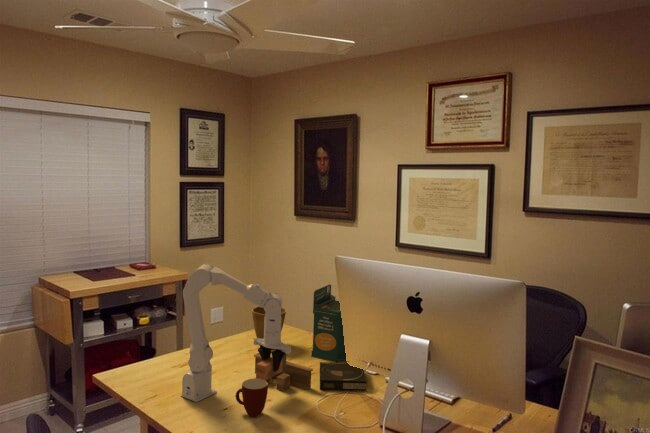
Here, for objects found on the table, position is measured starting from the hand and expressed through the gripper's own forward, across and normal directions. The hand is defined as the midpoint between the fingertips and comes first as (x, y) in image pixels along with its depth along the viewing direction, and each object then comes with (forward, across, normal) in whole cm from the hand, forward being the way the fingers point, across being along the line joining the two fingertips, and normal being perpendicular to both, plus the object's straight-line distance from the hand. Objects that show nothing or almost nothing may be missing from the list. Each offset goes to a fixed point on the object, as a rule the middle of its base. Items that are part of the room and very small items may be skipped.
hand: (271, 369), depth 167 cm
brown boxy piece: (+2, 0, 0) cm, 2 cm away
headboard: (+9, +4, -9) cm, 14 cm away
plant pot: (+10, +31, -38) cm, 50 cm away
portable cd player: (+10, -14, -25) cm, 30 cm away
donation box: (+10, +1, -47) cm, 48 cm away
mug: (+10, -3, +14) cm, 17 cm away
